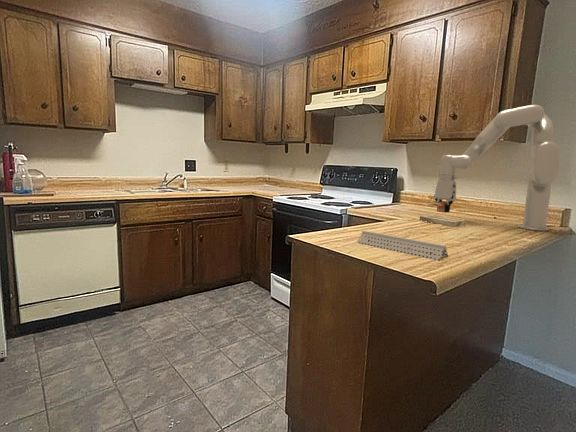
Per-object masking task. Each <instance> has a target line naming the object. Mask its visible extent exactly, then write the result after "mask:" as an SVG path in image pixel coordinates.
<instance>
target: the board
mask: <svg viewBox="0 0 576 432" xmlns="http://www.w3.org/2000/svg"><path fill="white" fill-rule="evenodd" d="M420 220H422V221H421V222H424V221H427V222H426V223H429V222H432V223H431V224H435V223H436V224H435V225H440V224H441V225H440V226H445V225H446V226H447V227H451V228H455V227H464V226H466V225H467V224H466V223H467V221H466V220H463V219H458V218H452V217H447V216H446V217H445V216H440V215H439V216H438V215H432V214H430V215H421V216H419V221H420ZM446 226H445V227H446Z"/></svg>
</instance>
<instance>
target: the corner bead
mask: <svg viewBox="0 0 576 432" xmlns="http://www.w3.org/2000/svg"><path fill="white" fill-rule="evenodd" d="M368 240H369V241H368ZM358 243H360V244H359V245H363V244H364V246H367V245H369V247H372V246H373V248H376V247H377V248H376V249H381V248H382V250H386V251H390V250H391V252H395V251H396V252H395V253H399V252H400V254H404V255H408V256H414V257H419V258H422V259H428V260H431V261H432V260H433V261H436V262H437V261H438V262H439V261H440V260H441V257H445V258H446V257H447V258H449V254H448V250H447V249H446V245H443V244H437V243H432V242H427V241H421V240H415V239H412V238H411V239H410V238H405V237H401V236H394V235H391V234H390V235H389V234H384V233H379V232H374V231H369V230H368V231H367V230H362V231H361V234H360V236H359V237H358V240H357V241H356V244H358ZM387 244H388V245H387ZM397 246H398V247H397Z"/></svg>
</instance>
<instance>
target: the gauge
mask: <svg viewBox="0 0 576 432" xmlns="http://www.w3.org/2000/svg"><path fill="white" fill-rule="evenodd" d="M445 205H447V203H446V200H445V201H444V200H442V201H438V203H437V202H435V203H427V206H428V207H431V208H433V207H437V208H436V212H437V213H444V214H445V213H446V212H445Z"/></svg>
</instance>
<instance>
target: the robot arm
mask: <svg viewBox="0 0 576 432" xmlns="http://www.w3.org/2000/svg"><path fill="white" fill-rule="evenodd" d="M524 125H525V126H528V127H529V128H530V131H531V150H530V156H531V158H532V160H533V167H532V168H530V171H529V173H528V175H527V190H526V198H525V203H524V211H523V212H524V213H523V219H522V220H523V221H522V224H521V223H520V224H519V225H518V228H520V229H523V230H528V231H529V230H530V231H540V232H541V231H543V232H548V231H550V227H549V226H547V225H548V223H549V221H548V220H547V219H548V213H549V205H550V198H551V190H552V184H553V183H554V182H555V181H556V180H557V178H558V175H559V168H560V167H559V166H560V165H559V164H560V150H559V147H558V145H557V144H556V143H555V141H554V140H555V138H554V137H555V136H554V134H555V133H554V125H553V121H552V119H551V118H550V117H549V116H548V115H547V114H545V109H544V107H543V106H541V105H538V104H529V105H525V106H519V107H515V108H511V109H504V110H501V111H499V112H498V113H497V114H496V116H495V117H494V118H493V119H492V120H491V121H490V122H489V123H488V124H487V125H486V126H485V128H483V130H481V132H480V133H479V134H478V135H477V136H476V137H475V139H474V141H473V142H472V143H471V144H470V145H469V147H468V148H467V149H466V150H465V151H464V152H463V153H462V154H461V155H455V154H444V155H442V157H441V159H440V160H441V161H440V171H439V178H438V180H437V183H436V187H435V192H434V194H433V196H432V198H433V199H434V200H435V203H438V201H444V200H445V202H446V203H447V205H445V212H444V213H450V210H451V205H452V204H454V203H455V202H458V198H457V182H456V180H457V179H458V177H457V176H456V170H457V169H460V170H468V169H470V168H471V167H472V166H473V165H474V163H475V162H476V161H477V160H478V159H479V158H480V157H481V156H482V155H483V154H484V153H485V152H486V151H488V150H489V149H490V148H491V147H492V146H493V145H494V144H495V143H496V142H497V141H498V140H499V139H500V138H501V137H502V136H503V135H504V134H505V133H506V131H508V129H509V128H512V127H519V126H524Z"/></svg>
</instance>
